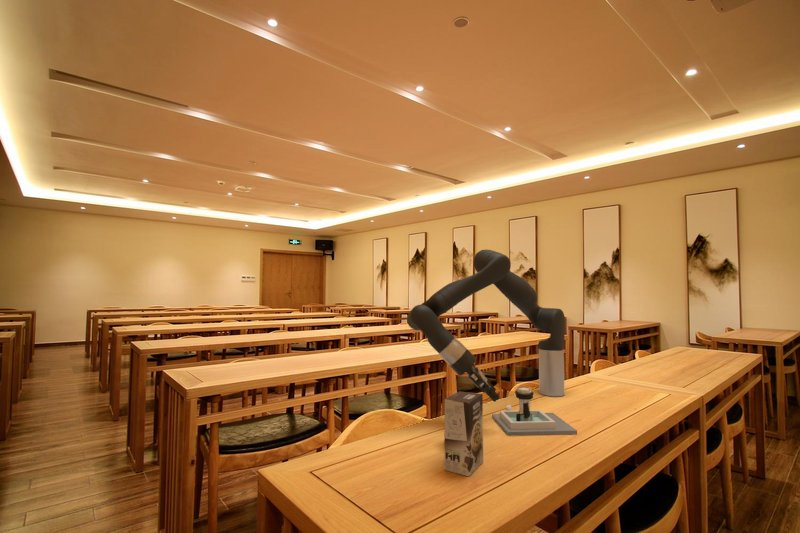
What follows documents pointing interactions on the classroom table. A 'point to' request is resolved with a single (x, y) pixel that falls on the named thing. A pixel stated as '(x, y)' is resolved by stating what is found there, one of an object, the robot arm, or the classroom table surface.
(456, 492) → the classroom table surface
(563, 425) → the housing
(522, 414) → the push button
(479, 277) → the robot arm
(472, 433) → the coffee box
